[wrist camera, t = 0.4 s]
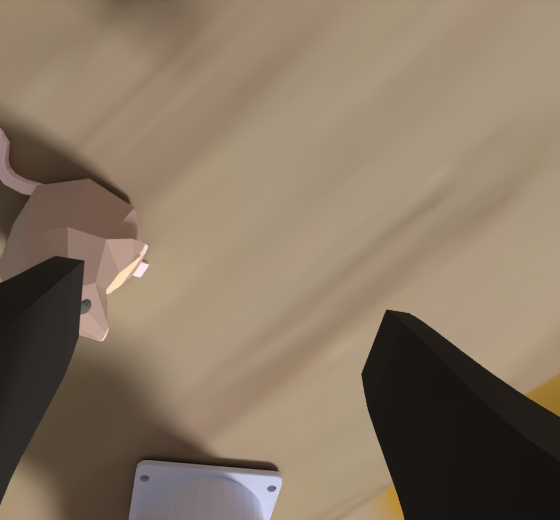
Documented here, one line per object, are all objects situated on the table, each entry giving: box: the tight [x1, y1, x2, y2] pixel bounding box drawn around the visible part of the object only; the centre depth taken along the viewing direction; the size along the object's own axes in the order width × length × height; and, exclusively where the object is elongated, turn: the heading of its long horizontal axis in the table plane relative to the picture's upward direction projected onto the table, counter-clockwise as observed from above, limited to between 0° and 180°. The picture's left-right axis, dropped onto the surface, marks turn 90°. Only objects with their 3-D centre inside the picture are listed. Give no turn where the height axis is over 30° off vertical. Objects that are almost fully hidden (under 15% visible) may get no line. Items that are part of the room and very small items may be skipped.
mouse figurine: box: [0, 128, 149, 341], centre depth 17 cm, size 5×8×7 cm, turn 29°
